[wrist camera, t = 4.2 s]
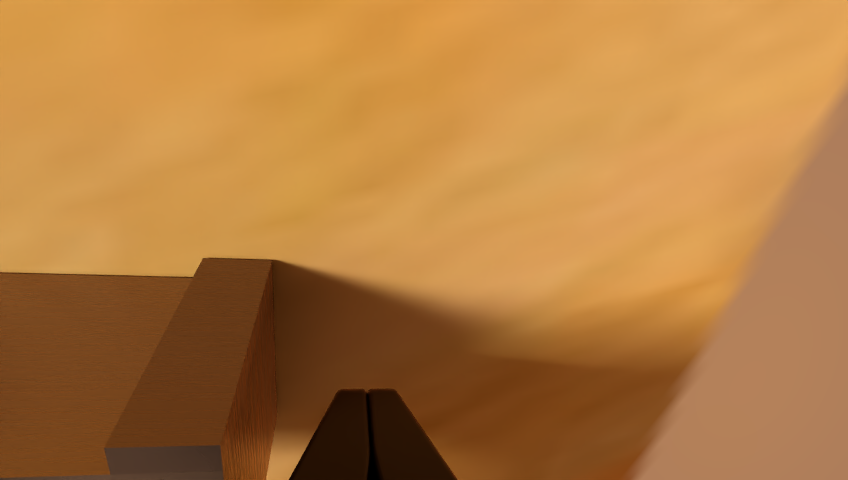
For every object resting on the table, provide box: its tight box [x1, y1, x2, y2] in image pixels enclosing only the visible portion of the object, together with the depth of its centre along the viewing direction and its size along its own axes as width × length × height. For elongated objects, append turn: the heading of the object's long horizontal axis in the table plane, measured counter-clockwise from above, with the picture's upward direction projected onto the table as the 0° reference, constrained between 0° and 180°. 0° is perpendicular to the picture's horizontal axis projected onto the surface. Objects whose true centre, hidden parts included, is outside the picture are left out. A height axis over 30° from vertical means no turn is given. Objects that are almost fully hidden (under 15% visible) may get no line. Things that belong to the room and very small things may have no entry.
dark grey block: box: [0, 258, 277, 480], centre depth 7 cm, size 3×5×4 cm, turn 84°
